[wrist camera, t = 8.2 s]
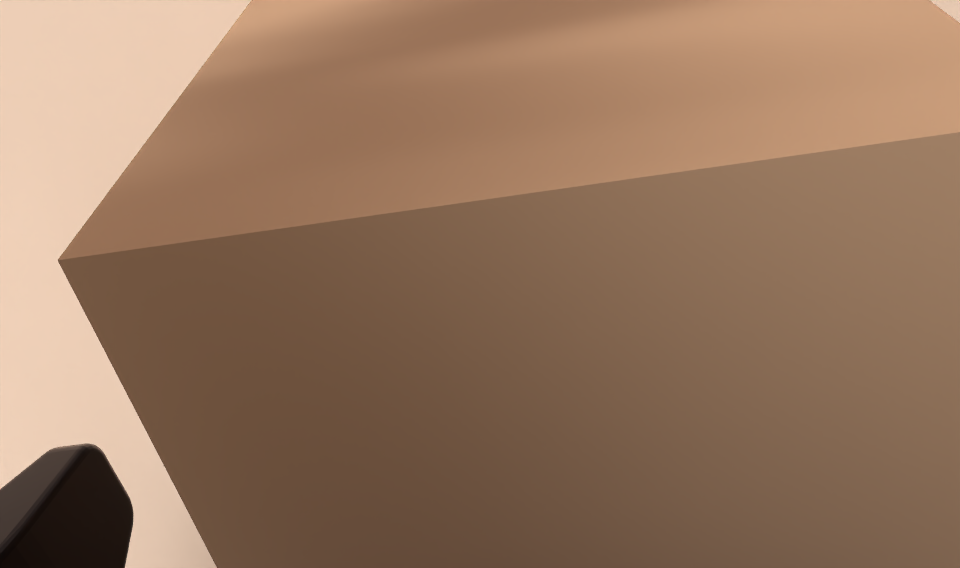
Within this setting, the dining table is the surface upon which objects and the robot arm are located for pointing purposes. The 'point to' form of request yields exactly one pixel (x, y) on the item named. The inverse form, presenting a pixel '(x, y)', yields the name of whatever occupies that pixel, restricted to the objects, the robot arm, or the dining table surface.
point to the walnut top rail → (550, 285)
